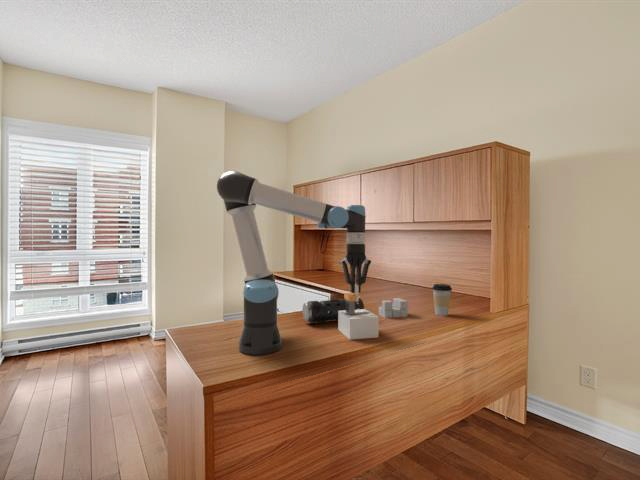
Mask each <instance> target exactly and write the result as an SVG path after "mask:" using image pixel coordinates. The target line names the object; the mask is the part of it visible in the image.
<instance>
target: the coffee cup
mask: <svg viewBox="0 0 640 480" xmlns="http://www.w3.org/2000/svg"><path fill="white" fill-rule="evenodd" d="M432 291H433V293H432V296H433V305H434V313H435V315H436V316H438V315H439V316H440V317H447V316H449V308H450V301H451V291H453V288H452V286H451V285H449V284H445V283H444V284H443V283H436V284H433V286H432Z"/></svg>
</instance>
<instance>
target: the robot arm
mask: <svg viewBox="0 0 640 480" xmlns="http://www.w3.org/2000/svg"><path fill="white" fill-rule="evenodd" d="M216 190H217V193H218V195H219V196H220V198H221V199H222V200H223V202H224V207H225V210H226V213H227V214H228V215H230V216H231V217H232V221H233V224H234V225H233V226H234V229H235V233H236V238H237V242H238V246H239V249H240V254H241V257H242V262H243V265H244V269H245V272H246V276H245V277H244V280H243V281H244V287H243V293H242V294H243V328H242V331H241V334H240V338H239V340H238V350H239V352H241V353H242V354H245V355H252V356H258V355H259V356H261V355H268V354H272V353H276V352H279V350H281V349H282V347H283V341H282V336H281V333H280V331H279V327H278V299H279V298H278V297H279V294H280V292H279V287H278V285H277V283H276V280H275V275H274V272H273V271H271V270H270V269H269V268H268V265H267V260H266V259H267V258H266V255H265V251H264V247H263V244H262V239H261V236H260V231H259V228H258V223H257V219H256V215H255V212H254V211H255V209H256V207H257V205H258V206H262V207H265V208H268V209H271V210H275V211H278V212H282V213H285V214H288V215H292V216H295V217H299V218H302V219H304V220H308V221H311V222H314V223H317V228H319V229H324V230H326V229H328V230H329V229H331V230H332V229H344V230H345V229H346V243H347V244H346V255H345V258H343V260H340V264H341V266H342V269H343V274H344V278H345V282H346V283H347V284H348V285H350V293H352V294H354V295H356V296H357V297H356V301H355V302H357V303H358V301H359V298H360V297H359V296H360V295H359V294H360V293H361V291H362V290H361V286H362V285H363V284H365V283H366V280H367V276H368V271H369V267H370V265H371V263H372V260H371V259H368V258H367V255H366V244H365V243H366V216H367V215H366V207H365V206H364V205H362V204H350V205H347V206H346V209H345V207H343V206H339V205H336V206H335V205H332V204H330V203H325V202H322V201H319V200H316V199H312V198H310V197H307V196H303V195H300V194H296V193H292V191H291V192H290V191H287V190H284V189H282V188H281V189H280V188H277V187H274V186H272V185H271V186H270V185H268V184H265V183H261V182H259V180H258V179H257V178H255V177H252V176H249V175H247V174H245V173H242V172H239V171H237V170H230V171H226V172H224V173H222V174H221V175H220V176H219V178H218V179H217V184H216ZM347 264H348V265H349V267H348V265H347ZM349 268H350V270H349ZM349 271H350V272H349Z"/></svg>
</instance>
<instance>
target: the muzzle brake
mask: <svg viewBox="0 0 640 480" xmlns="http://www.w3.org/2000/svg"><path fill="white" fill-rule="evenodd" d="M359 309H365V305H364V301H363V300H362V299H361V297H359V301H358V302H355V310H359ZM301 310H302V317H303V321H305V322H306V323H307V322H308V323H310V324H312V323H317V324H324V323H326V322H328V321H329V322H330V321H336V322H338V311H342V310H346V299H344V298H342V299H341V298H340V299H332V300H331V299H329V300H327V299H326V300H320V301H318V300H311V301H310V300H309V301H307V302H304V303H303V305H302V309H301Z"/></svg>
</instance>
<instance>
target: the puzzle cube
mask: <svg viewBox="0 0 640 480" xmlns="http://www.w3.org/2000/svg"><path fill="white" fill-rule="evenodd" d="M392 299H393V301H391V300H389V299H388V300H382V301H381V306H378V315H379V316H380V317H383V318H384V319H390V318H391V319H393V318H408V305H409V304H408V303H409V302H408V300H405V299H404V298H401V297H395V298H392Z"/></svg>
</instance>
